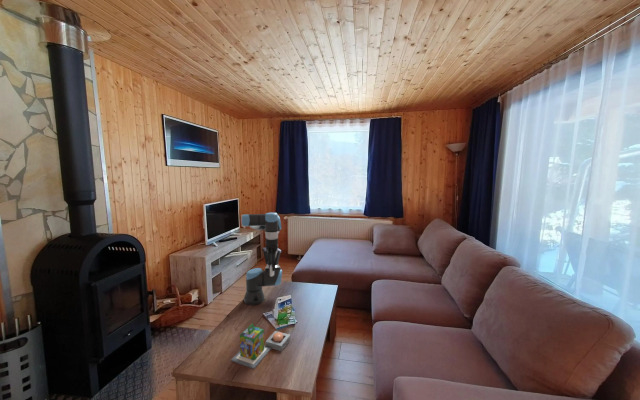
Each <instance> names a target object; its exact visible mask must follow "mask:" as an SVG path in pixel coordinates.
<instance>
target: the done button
mask: <svg viewBox="0 0 640 400" xmlns="http://www.w3.org/2000/svg"><path fill="white" fill-rule="evenodd" d="M280 332H281V331H278V332H277V333H275V334H274V335H273V341H275V342H278V343H281V342H282V340H283V334H282V333H283V332H282V333H280Z"/></svg>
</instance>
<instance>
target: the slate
mask: <svg viewBox="0 0 640 400" xmlns="http://www.w3.org/2000/svg"><path fill="white" fill-rule="evenodd" d="M271 350H272V348H271V347H268V346H266V344H264V350H263V351H262V352H261V353H260V355H259V356H258V357H257V358H256V359H255V360H252V359H249V358H246V357H243V356H240V350H239V351H238V352H237V353H236V354H235V355H234V356H233V357H232V358H231V359H230V361H231V362H233V363H236V364H238V365H241V366H245V367H247V368H250V369H253V370H255V369H256V368H257V367H258V366H259V364H260V363H261V362H262V361H263V360H264V359H265V357H266V356H267V355H268V353H270V352H271Z"/></svg>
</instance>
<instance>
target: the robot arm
mask: <svg viewBox="0 0 640 400" xmlns="http://www.w3.org/2000/svg"><path fill="white" fill-rule="evenodd" d="M241 226H242V227H249V228H250V229H253V230H255V231H256V230H257V231H264V235H265V236H264V237H265V240H264V241H265V246H264V247H262V248H261V250H262V252H263V253H262V254H263V256H264V257H263V258H264V262H265V264H266V266H265V268H264V270H263V269H262V268H261V267H256V268H255V267H254V268H251V269H250V270H248V271H247V272H246V274H245V283H246V285H245V289H246V290H245V293H244V297H243V298H244V299H243V301H244V302H243V303H244V304H246V305H249V306H255V305H259V304H261V303H263V302H264V301H265V297H266V296H265V293H264V290H263V287H270V286H271V287H276V286H280V285H281V283H282V279H283V277H282V276H283V269H282V268H281V265H279V261H280V257H281V253H282V252H283V250H282V249H280V248H279V233H280V231H281V230H282V221H281V218H280V216H279V215H278V213H277V212H271V211H270V212H267V213H260V214H259V213H253V214H248V213H247V214H242V215H241Z"/></svg>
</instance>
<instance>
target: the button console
mask: <svg viewBox="0 0 640 400" xmlns="http://www.w3.org/2000/svg"><path fill="white" fill-rule="evenodd" d="M277 332H280V333H282V334H283V340H282V342H280V343H278V342H275V341H273V335H274V334H275V333H277ZM290 341H291V334H289V333H285V332H281V331H279V330H275V331H273V333H271V334H270V335H269V337H268V338H267V339H266V340H265V346H268V347H271V350H272V349H274V350H276V351H278V352H279V351H280V352H283V350H284V349H285V347H286V346H287V345H288V344H289V342H290Z"/></svg>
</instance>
